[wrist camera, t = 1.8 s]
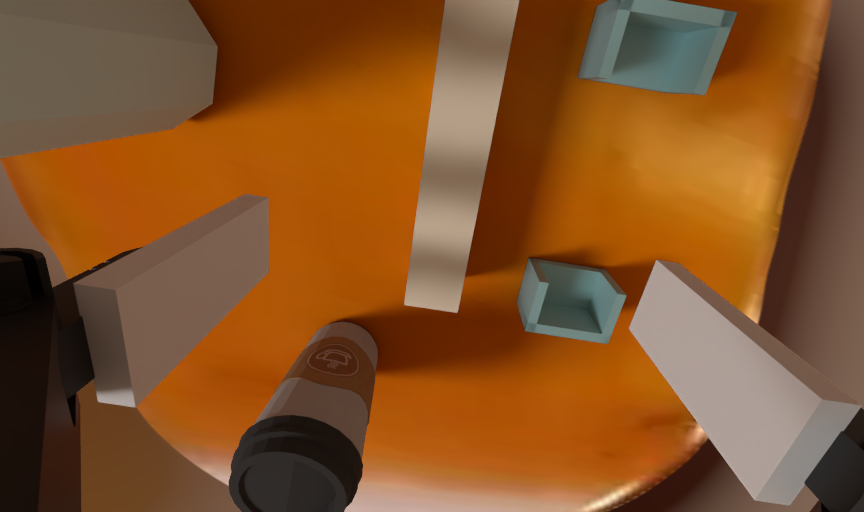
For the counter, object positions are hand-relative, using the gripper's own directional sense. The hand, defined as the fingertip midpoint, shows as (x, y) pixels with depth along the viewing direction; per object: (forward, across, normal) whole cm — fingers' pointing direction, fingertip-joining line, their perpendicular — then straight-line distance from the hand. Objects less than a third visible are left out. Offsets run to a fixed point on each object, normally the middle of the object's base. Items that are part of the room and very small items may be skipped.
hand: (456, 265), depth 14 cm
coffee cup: (+20, -7, -19) cm, 28 cm away
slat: (+19, 0, 0) cm, 19 cm away
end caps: (+19, +11, 0) cm, 22 cm away
